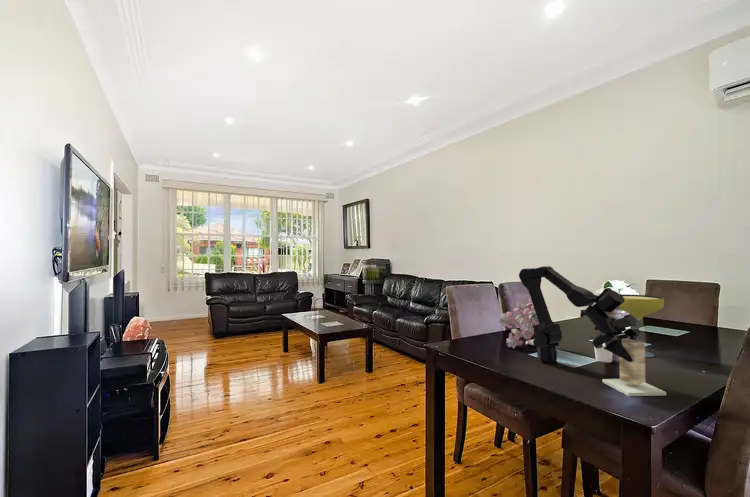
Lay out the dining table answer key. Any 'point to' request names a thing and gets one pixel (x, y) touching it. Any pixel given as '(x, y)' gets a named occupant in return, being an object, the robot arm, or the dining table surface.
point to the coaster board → (634, 388)
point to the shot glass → (603, 354)
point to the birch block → (633, 362)
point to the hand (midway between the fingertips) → (636, 360)
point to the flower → (526, 315)
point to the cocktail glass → (641, 308)
